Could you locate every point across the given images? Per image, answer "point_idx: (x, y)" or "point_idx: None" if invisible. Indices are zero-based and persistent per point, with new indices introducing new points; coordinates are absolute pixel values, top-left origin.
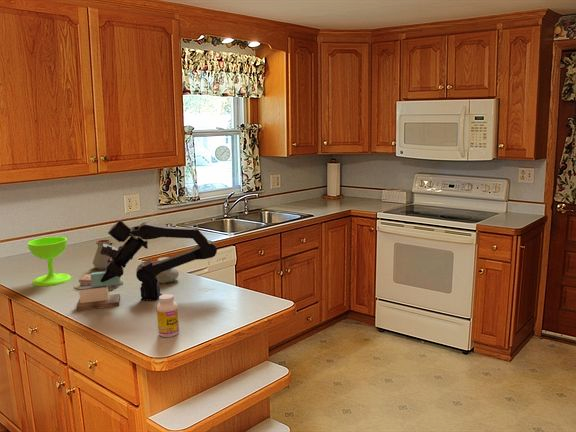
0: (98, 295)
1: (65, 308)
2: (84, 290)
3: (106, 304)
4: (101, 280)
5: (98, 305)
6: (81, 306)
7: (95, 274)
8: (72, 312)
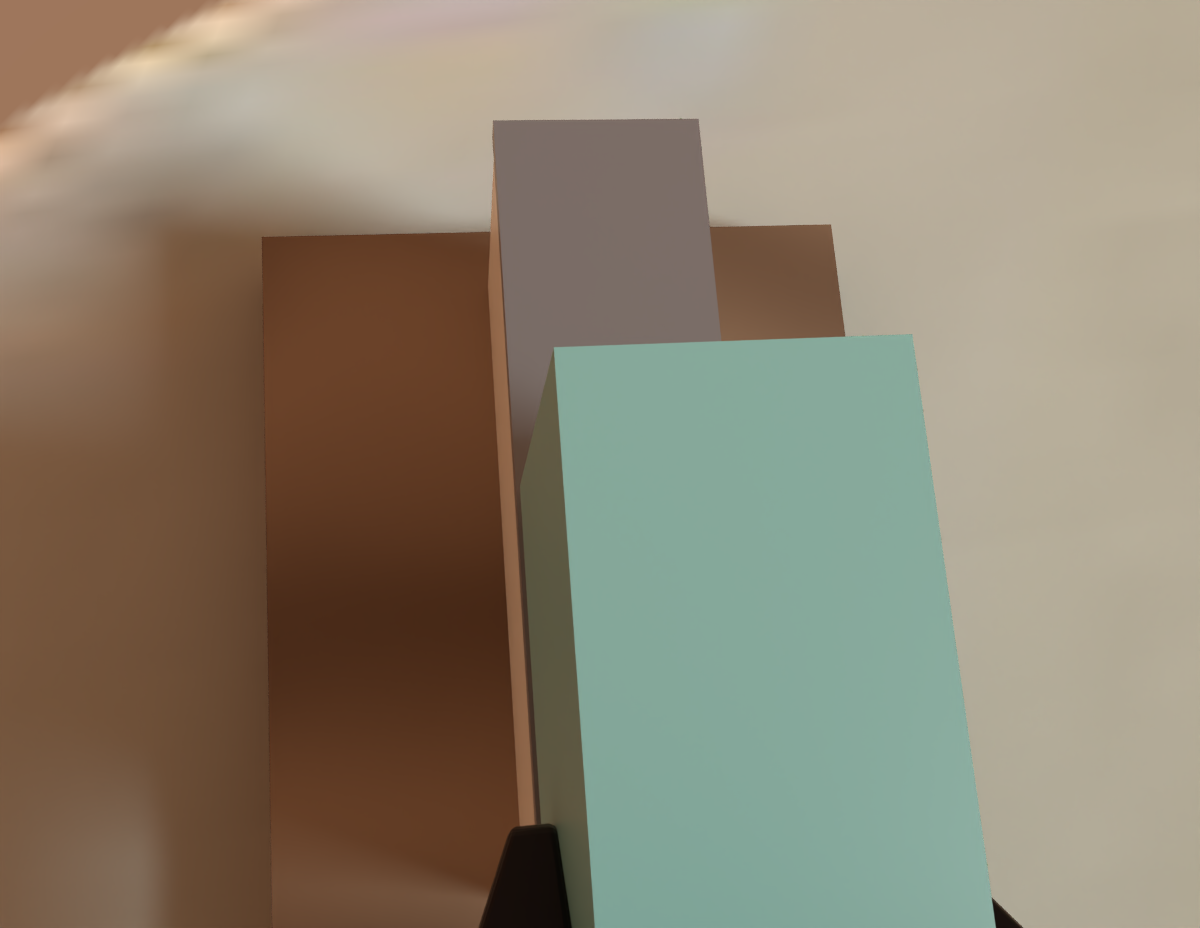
0: (516, 680)
1: (482, 49)
2: (502, 288)
3: (273, 894)
4: (501, 883)
5: (275, 702)
6: (264, 336)
7: (565, 619)
8: (196, 202)
